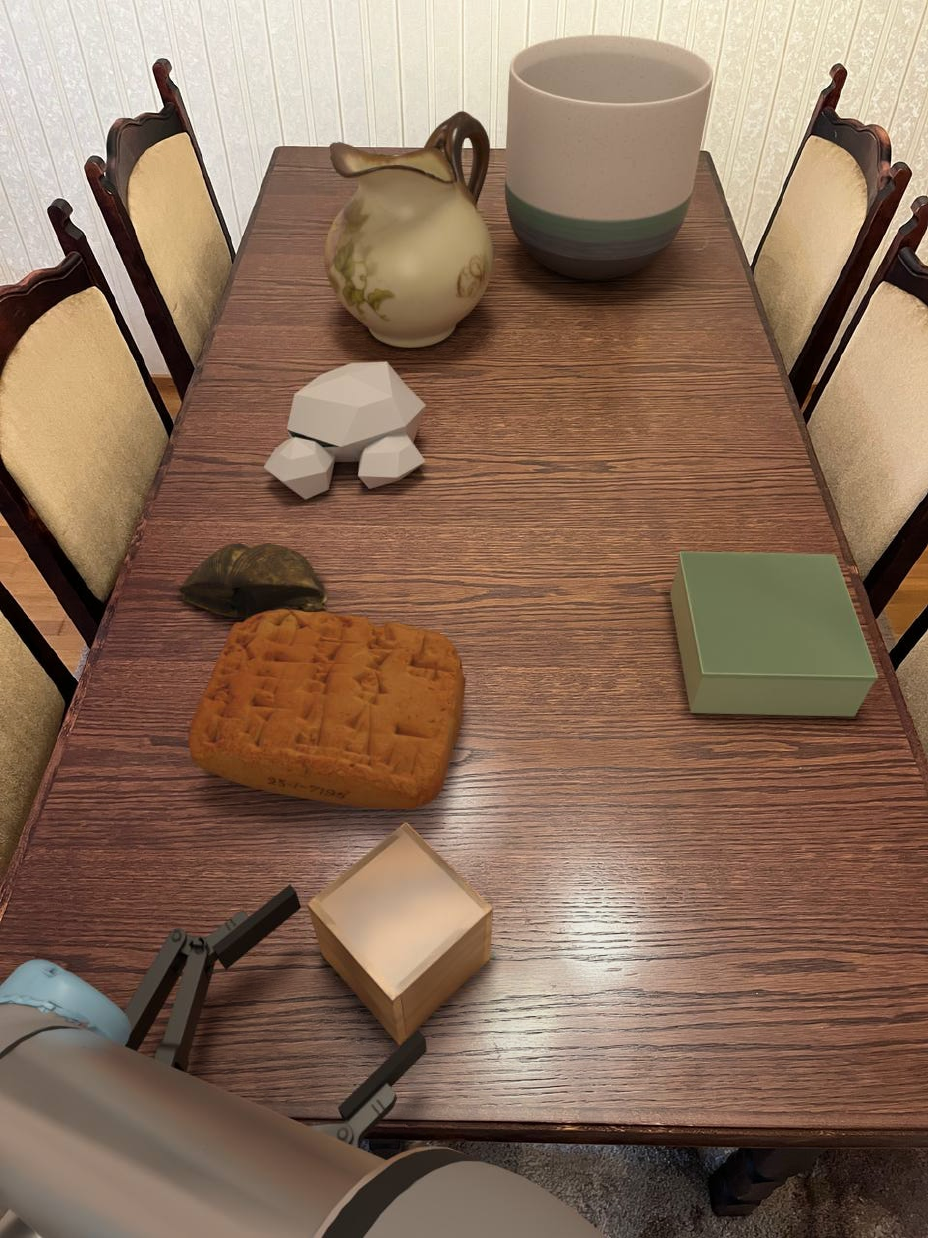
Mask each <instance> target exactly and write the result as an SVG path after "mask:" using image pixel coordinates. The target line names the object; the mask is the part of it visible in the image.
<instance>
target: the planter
mask: <svg viewBox="0 0 928 1238" xmlns="http://www.w3.org/2000/svg"><path fill="white" fill-rule="evenodd" d="M713 80H714V71H713V68H712V66H711V64H709V62H708V61H707V60H705V59H704V58H703V57H702V56H700V55H699V54H697V53H695V52H693V51H691V50H688V49H686V48H684V47H681V46H679V45H675V44H673V43H669V42H665V41H661V40H656V39H651V38H645V37H639V36H630V35H620V34H619V35H616V34H585V35H583V34H582V35H572V36H564V37H557V38H551V39H548V40H544V41H541V42H537V43H535V44H532V45H529V46H527V47H525V48H523V49H521V50H520V51H519V52H517V53H516V54H515V55H514V56H513V57H512V59H511V61H510V64H509V71H508V88H507V117H506V119H507V120H506V121H507V123H506V139H505V140H506V141H505V164H504V165H505V169H504V200H505V205H506V206H505V207H506V212H507V216H508V220H509V224H510V227H511V229H512V231H513V234H514V236H515V237H516V240H517V241H518V243H519V244H520V245H521V247H522V248H523V249H524V250H525V251H526V252H527V253H528V254H529V255H530V256H531V257H532V258H533V259H534V260H535V261H537V262H538V263H540V264H541V265H542V266H543V267H545V268H547V269H550V270H551V271H552V272H555V273H557V274H560V275H563V276H566V277H569V278H573V279H578V280H587V281H603V280H605V281H606V280H612V279H617V278H620V277H624V276H627V275H630V274H632V273H635V272H637V271H639V270H641V269H643V268H644V267H646V266H648V265H650V264H651V263H652V262H655V260H657V259H658V258H660V256H661V255H663V254H664V253H665V252H666V251H667V249H669V247H670V246H671V245H672V244H673V242H674V241H675V239H676V237H677V236H678V234H679V232H680V230H681V228H682V226H683V224H684V222H685V219H686V216H687V214H688V211H689V208H690V204H691V200H692V196H693V190H694V184H695V181H696V175H697V169H698V165H699V159H700V153H701V148H702V142H703V137H704V136H703V135H704V130H705V125H706V120H707V115H708V110H709V105H710V99H711V93H712V86H713Z"/></svg>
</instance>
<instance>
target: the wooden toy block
mask: <svg viewBox="0 0 928 1238" xmlns="http://www.w3.org/2000/svg"><path fill="white" fill-rule="evenodd" d="M306 907H307V909H308V913H309V916H310V919H311V923H312V926H313V929H314V933H315V936H316V940H317V943H318V946H319V950H320V952H321V953H320V954H321V956H322V957H323V958H324V959H325V960H326V961H327V962H328V963H329V965H330V966H331V967H332V968H333V970H334V971H335V972H336V973H337V974H338V975H339V977H340V978H341V979H342V980H343V981H344V982H345V984H346V985H347V986H348V987H349V989H350V990H351V991H352V992H353V993H354V994H355V995H356V997H357V998H358V999H359V1001H361V1002H362V1004H363V1005H364V1006H365V1007H366V1008H367V1010H368V1011H369V1012H370V1014H372V1016H373V1017H374V1018H375V1019H376V1020H377V1021H378V1023H379V1024H380V1025H381V1026H382V1027H383V1028H384V1030H385V1031H386V1032H387V1033H388V1034H389V1035H390V1037H392V1039H393V1040H394V1041H395V1042H396V1043H397V1045H398V1046H401V1045H402V1044H403V1043H404V1042H405V1041H406V1040H407V1039H409V1038H410V1037H411V1036H412V1035H413V1034H414V1033H415V1032H416V1031H417V1030H419V1029H420V1027H421V1026H422V1025H423V1024H424V1023H425V1022H426V1021H428V1019H429V1018H430V1017H432V1016H433V1015H434V1014H435V1013H436V1012H437V1011H438V1010H439V1009H440V1008H441V1007H442V1005H444V1004H445V1003H446V1002H447V1001H448V1000H449V999H450V998H451V997H453V995H454V994H456V993H457V991H458V990H459V989H461V987H463V986H464V985H465V984H466V983H467V982H468V981H469V980H470V979H471V978H472V977H473V976H474V975H475V974H476V973H477V972H478V971H479V970H480V969H481V968H482V967H483V966H484V965H486V963H487V962H489V960H490V959H491V949H492V934H493V933H492V931H493V915H494V908H493V906H492V905H491V904H490V903H488V901H487V900H486V899H485V898H484V897H482V895H481V894H479V892H477V890H475V888H474V887H473V886H471V885H470V884H469V882H468V881H466V879H464V878H463V877H462V876H461V874H459V872H457V871H456V870H455V869H454V868H453V867H452V866H451V865H450V864H449V863H448V862H447V861H446V860H445V859H444V858H443V857H442V856H441V854H439V852H437V851H436V850H435V849H434V848H433V847H432V846H431V845H430V844H429V843H428V842H427V841H426V840H425V839H424V838H423V837H422V836H421V835H420V834H419V833H418V832H417V831H416V830H415V829H414V828H413V827H412V826H411V825H410V824H409V823H408V822H404V823H403V824H401V825H400V826H399V827H398V828H397V829H395V830H394V831H393V832H392V833H391V834H389V835H388V836H387V837H386V838H385V839H384V840H382V841H381V842H380V843H378V844H377V845H376V846H375V847H374V848H372V849H371V850H369V852H367V853H366V854H365V855H364V856H362V857H361V858H360V859H359V860H358V861H356V863H354V864H353V865H351V866H350V867H349V868H348V869H347V870H345V871H344V872H343V873H341V874H340V875H339V876H338V877H337V878H336V879H334V880H333V881H332V882H331V883H330V884H328V885H327V886H326V887H325V888H324V889H322V890H321V891H320V892H318V893H317V894H316V895H315V896H313V898H311V899H310V900H309V901H308V902H307V903H306Z"/></svg>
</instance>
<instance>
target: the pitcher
mask: <svg viewBox="0 0 928 1238" xmlns="http://www.w3.org/2000/svg"><path fill="white" fill-rule="evenodd" d="M466 139H469V141H470V144H471V148H472V150H471V151H472V161H471V168H470V173H469V177H468V182H467V181H466V179H465V173H464V168H463V161H462V159H463V158H462V151H463V145H464V143H465V140H466ZM490 142H491V141H490V138H489V135H488V132H487V129H486V128H485V127H484V125H483V124H482V123H481V121H480V120H478V119H477V118H475V117H474V116H473V115H471V114H470V113H468V112H466V111H464V110H460V111H457V112H456V113H454V114H453V115H451V116H449V118H447V119H445V120H444V121H442V122H441V123H439V125H438V126H437V127H435V129H434V130H433V131H432V133H431V134H430V136H429V137H428V139H427V141H426V142H425V145H424V146H423V148H420V149H416V150H414V151H409V152H405V153H395V154H383V153H378V154H377V153H370V152H368V151H366V150H364V149H363V150H362V149H359V148H356V147H355V146H353V145H351V144H348V143H344V142H343V141H337V142H332V143H331V144H329V160H330V162H331V165H332V167H333V169H334V171H335V173H337V174H338V175H339V176H340V177H342V178H344V179H349V180H355V179H357V181H358V187H357V189H356V191H355V192H354V194H353V195H352V196H351V197H350V199H349V200H348V201H347V202H346V203H345V205H344V206H343V207H342V208H341V209H340V211H339V212H338V213H337V215H336V217H335V218H334V220H333V221H332V224H331V225H330V228H329V230H328V233H327V235H326V238H325V243H324V249H323V250H324V251H323V262H324V269H325V273H326V276H327V280H328V282H329V284H330V286H331V289H332V291H333V292H334V294H335V296H336V298H337V299H338V300H339V302H340V303H341V304H342V306H343V307H344V308H345V309H346V310H347V311H348V312H349V313H350V314H351V315H352V316H353V317H354V318H355V319H356V320H357V321H358V322H360V323H361V324H363V325H364V326H365V327H367V328H368V330H369V332H370V334H371V335H372V337H374V338H375V339H376V340H378V341H379V342H380V343H383V344H385V345H388V346H392V347H396V348H403V349H416V348H425V347H428V346H429V347H430V346H433V345H435V344H439V343H440V342H443V341H444V340H445V339H448V337H450V336H451V335H452V333H453V332H454V331H455V329H456V326H457V324H458V323H459V322H461V321H462V320H463V319H464V318H466V317H467V316H468V315H470V313H471V312H472V311H473V310H474V309H475V308H476V306H477V305H478V304H479V302H480V301H481V299H482V298H483V296H484V295H485V293H486V290H487V288H488V286H489V283H490V280H491V277H492V273H493V268H494V267H493V266H494V259H495V258H494V256H495V255H494V246H493V245H494V244H493V241H492V236H491V233H490V230H489V227H488V226H487V224H486V222H485V220H484V218H483V217H482V215H481V214H480V212H478V207H477V205H478V202H479V199H480V196H481V193H482V190H483V187H484V184H485V181H486V179H487V178H486V177H487V175H488V170H489V166H490V157H491V144H490Z"/></svg>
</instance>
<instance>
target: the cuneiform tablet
mask: <svg viewBox="0 0 928 1238" xmlns="http://www.w3.org/2000/svg"><path fill="white" fill-rule="evenodd" d="M458 651H459V650H457V647H456V646H455V644H454V643H453V642H452V641H451V640H450V639H449V638H447V637H446V636H445V635H443V634H442V633H441V632H440V631H435V630H428V629H424V628H419V627H415V626H411V625H408V624H407V625H406V624H404V623H400V622H395V621H388V622H385V623H383V624H382V625H375V624H374V623H373V622H372V621H371V620H370V619H369V618H367V617H362V616H357V615H350V614H336V613H331V612H328V611H324V610H323V611H321V610H320V611H317V612H304V611H299V610H286V609H280V610H274V611H266V612H263V613H260V614H256V615H254V616H252V617H251V618H248V619H245V620H244V621H242V622H239V621H237V622H236V623H234V624H233V626H232V627H231V629H230V631H229V632H228V635H227V637H226V640H225V642H224V645H223V647H222V649H221V652H220V653H219V656H218V657H217V661H216V662H215V665H214V667H213V669H212V673H211V675H210V678H209V680H208V682H207V684H206V686H205V690H204V691H203V693H202V695H201V697H200V698H199V702H198V704H197V707H196V709H195V713H194V715H193V717H192V719H191V722H190V725H189V730H188V738H187V746H188V748H189V751H190V757H191V759H192V762H193V763H194V764H195V765H196V766H198V767H199V768H200V769H201V770H203V771H205V772H208V773H210V774H212V775H216V776H218V777H221V778H223V779H225V780H228V781H230V782H232V783H236V784H239V785H241V786H242V785H243V786H246V787H250V788H253V789H257V790H261V791H265V792H269V793H272V794H279V795H283V796H287V797H288V796H289V797H293V798H299V799H303V800H311V801H317V802H323V803H329V804H337V805H344V806H351V807H352V806H353V807H357V808H358V807H359V808H365V809H373V810H374V809H375V810H415V809H418V808H421V807H425V806H427V805H429V804H430V803H433V802H434V801H435V800H436V799H438V797H439V796H440V794H441V792H442V790H443V788H444V786H445V782H446V780H447V775H448V771H449V768H450V763H451V760H452V756H453V752H454V748H455V745H456V743H457V739H458V737H459V732H460V730H461V725H462V721H463V715H464V714H463V713H464V700H465V699H464V698H465V690H466V677H465V675H464V670H463V661H462V658H461V657H460V655H459V653H458Z"/></svg>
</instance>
